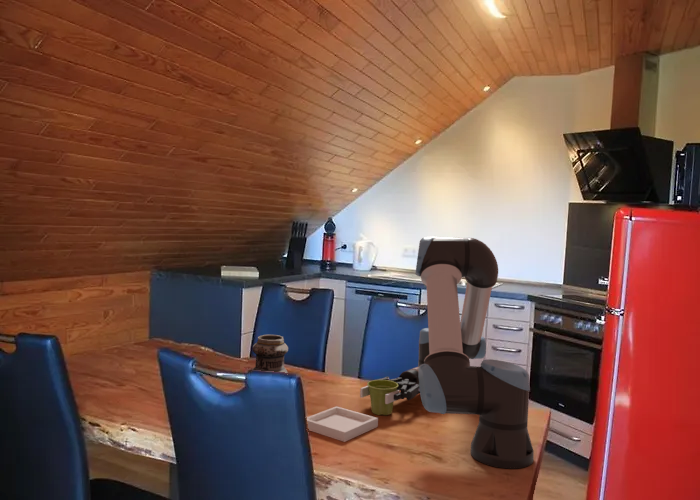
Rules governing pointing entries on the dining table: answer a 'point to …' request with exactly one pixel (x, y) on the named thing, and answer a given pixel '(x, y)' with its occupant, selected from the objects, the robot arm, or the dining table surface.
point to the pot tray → (341, 423)
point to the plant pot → (381, 396)
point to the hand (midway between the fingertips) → (373, 396)
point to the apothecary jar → (270, 353)
